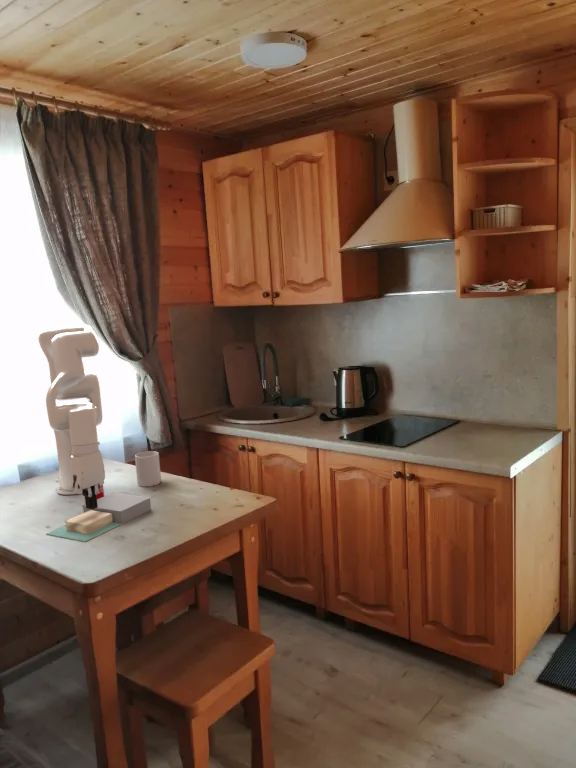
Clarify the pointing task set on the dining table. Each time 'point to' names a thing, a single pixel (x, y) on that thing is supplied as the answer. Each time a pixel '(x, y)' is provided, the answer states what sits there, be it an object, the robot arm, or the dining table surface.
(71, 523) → the tan wooden block
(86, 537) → the mat
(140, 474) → the mug
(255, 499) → the dining table surface
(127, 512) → the grey flat block
